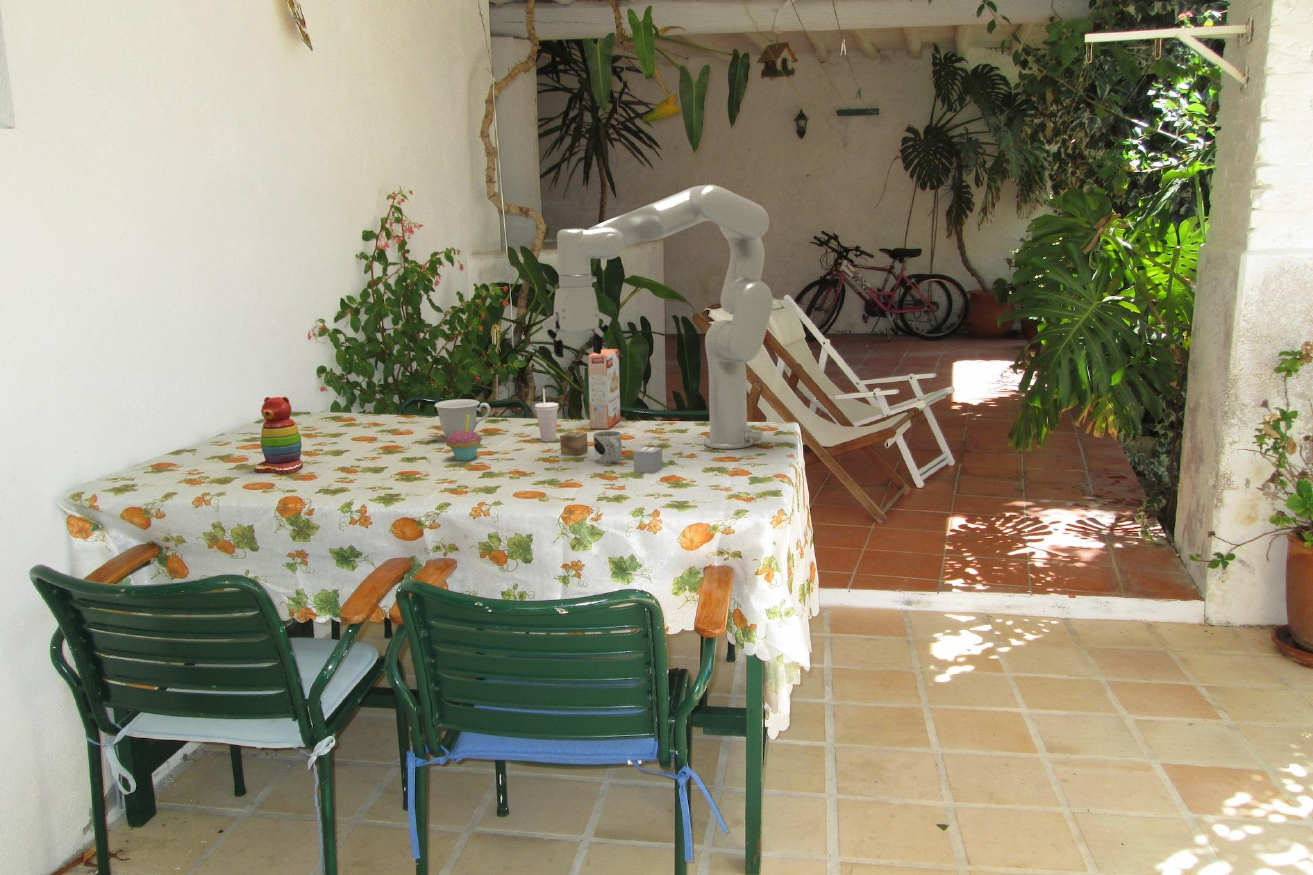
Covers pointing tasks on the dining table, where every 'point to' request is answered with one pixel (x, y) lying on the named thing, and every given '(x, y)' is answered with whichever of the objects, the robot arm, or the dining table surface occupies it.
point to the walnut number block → (573, 443)
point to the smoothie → (547, 419)
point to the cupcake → (464, 443)
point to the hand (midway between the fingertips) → (578, 355)
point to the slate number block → (647, 459)
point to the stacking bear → (279, 437)
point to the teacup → (459, 414)
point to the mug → (607, 447)
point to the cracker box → (604, 389)
